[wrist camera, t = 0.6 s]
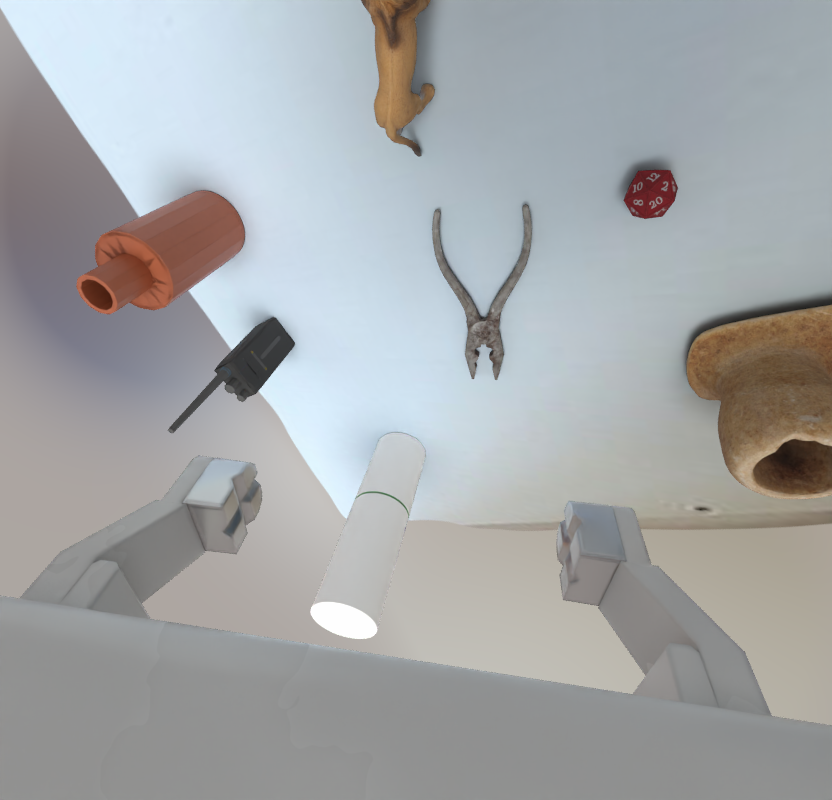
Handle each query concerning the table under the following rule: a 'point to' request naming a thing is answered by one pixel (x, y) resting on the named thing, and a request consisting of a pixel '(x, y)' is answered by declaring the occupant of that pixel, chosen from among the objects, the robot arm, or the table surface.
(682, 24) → the table surface
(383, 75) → the lion figurine
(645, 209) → the dice
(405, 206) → the table surface
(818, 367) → the stone cup
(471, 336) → the pliers
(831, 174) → the table surface
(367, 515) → the cylindrical container
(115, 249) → the bottle
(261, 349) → the walkie-talkie
